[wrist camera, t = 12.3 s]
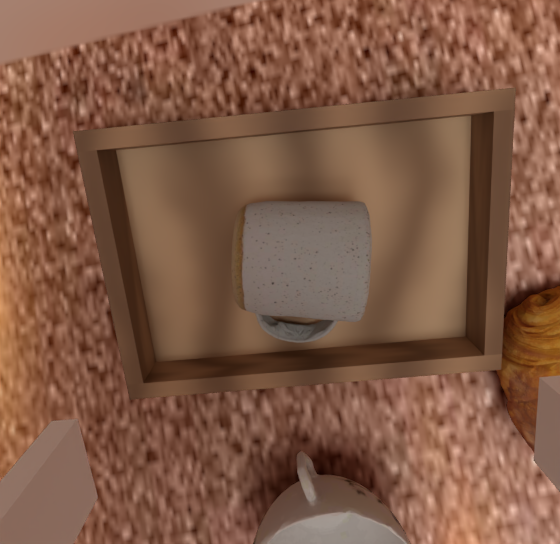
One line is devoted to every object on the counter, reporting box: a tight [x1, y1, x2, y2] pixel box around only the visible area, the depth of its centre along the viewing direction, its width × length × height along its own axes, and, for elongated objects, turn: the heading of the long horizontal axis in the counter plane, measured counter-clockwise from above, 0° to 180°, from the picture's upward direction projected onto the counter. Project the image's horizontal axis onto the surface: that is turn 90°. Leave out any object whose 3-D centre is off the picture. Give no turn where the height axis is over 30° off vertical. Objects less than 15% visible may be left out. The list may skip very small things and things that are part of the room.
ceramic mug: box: [231, 201, 372, 343], centre depth 28 cm, size 11×8×8 cm
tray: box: [73, 88, 516, 399], centre depth 30 cm, size 26×18×4 cm
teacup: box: [253, 451, 411, 544], centre depth 34 cm, size 15×12×8 cm
